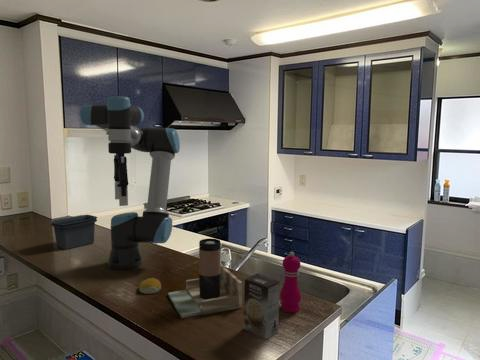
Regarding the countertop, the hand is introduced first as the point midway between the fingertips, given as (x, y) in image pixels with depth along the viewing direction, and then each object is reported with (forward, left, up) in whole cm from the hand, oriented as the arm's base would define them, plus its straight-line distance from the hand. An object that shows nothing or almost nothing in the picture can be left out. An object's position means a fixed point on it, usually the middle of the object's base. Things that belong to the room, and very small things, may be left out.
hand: (121, 202), depth 131 cm
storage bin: (-76, -16, -35) cm, 85 cm away
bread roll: (-2, +10, -35) cm, 37 cm away
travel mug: (+15, +28, -33) cm, 46 cm away
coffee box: (+41, +35, -35) cm, 64 cm away
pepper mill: (+32, +51, -35) cm, 70 cm away
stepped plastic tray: (+15, +26, -35) cm, 46 cm away
